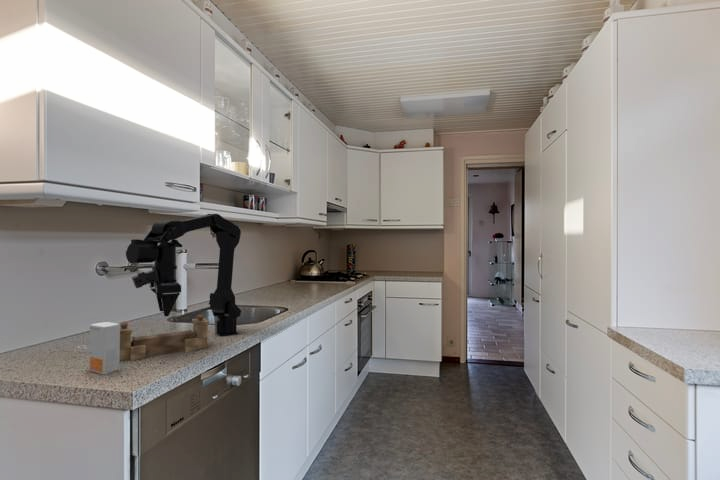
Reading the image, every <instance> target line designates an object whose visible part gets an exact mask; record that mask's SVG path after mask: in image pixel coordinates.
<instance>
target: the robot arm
mask: <svg viewBox="0 0 720 480" xmlns="http://www.w3.org/2000/svg"><path fill="white" fill-rule="evenodd" d="M208 227H209V229H210V231H211V232H212V233H213V234H214V235H215V242H216V243H217V245H218V247H219V256H218V257H219V258H218V267H217V268H218V269H217V270H218V271H217V281H216V288H215V290H214V292H210V294H209V302H208V305H209V308H210V309H209V310H211V312H212V316H213V317H216V320H215V321H214V333H215V334H216V335H218V336H220V337H222V336H230V335H231V336H232V335H237V334H238V333H239V331H237V321H238V319H237V318H239V317H241V314H242V309H240V308H239V306H238V305H237V304H236V297H235V294H234V292H233V289H232V284H233V272H234V271H233V270H234V260H235V259H234V257H235V250H236V247H237V246H238V245H239V243H240V239H241V235H242V232H241V229H240V227H239V226H238V225H237V224H235V223H233V222H232V221H230V220H228V219H225V218H224V217H223V216H221V215H220V214H219V213H207V214H205V215H200V216H196V217H191V218H186V219H182V220H159V221H155V222H154V223H152V227H151V229H150V231H148V233H147V235H146V236H145V237H144V239H134V238H133V239H131V241H130V244H129V245H128V246H127V248H126V250H125V257H126V260H127V261H128V263H130V264H151V263H154V264H153V266H151V270H149V271H146V272H145V271H142V272H138V273H137V275H134V276H131V280H132V282H133V285H134V287H135V288H136V289H140V288H142V287H143V286H146V285H149V286H148V287H149V288H150V290H151V292H153V293H154V294H155V296H156V301H157V304H158V309H159V312H163V317H169V316H170V314H171V311H172V310H173V307H174V306H175V304H176V302H177V299H178V297H179V296H180V294H181V293H182V285H181V284H180V283H179V282H177V281H178V280H177V278H176V270H177V269H178V266H177V265H176V262H177V261H176V259H177V257H176V256H177V248H182V247H183V244H182V243H180V242H179V240H178V238H179V239H180V238H181V237H183V236H185V234H187V233H188V232H193V231H196V230H197V231H198V230H200V229H205V228H208Z"/></svg>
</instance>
